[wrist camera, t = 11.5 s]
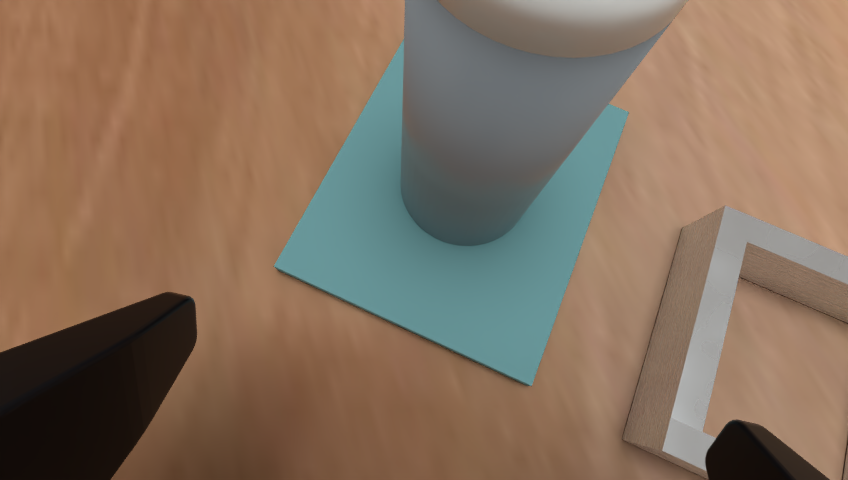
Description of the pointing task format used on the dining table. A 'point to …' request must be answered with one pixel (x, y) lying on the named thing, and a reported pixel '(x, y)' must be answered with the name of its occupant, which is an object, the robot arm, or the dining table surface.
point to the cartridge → (507, 100)
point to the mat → (447, 244)
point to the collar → (718, 322)
